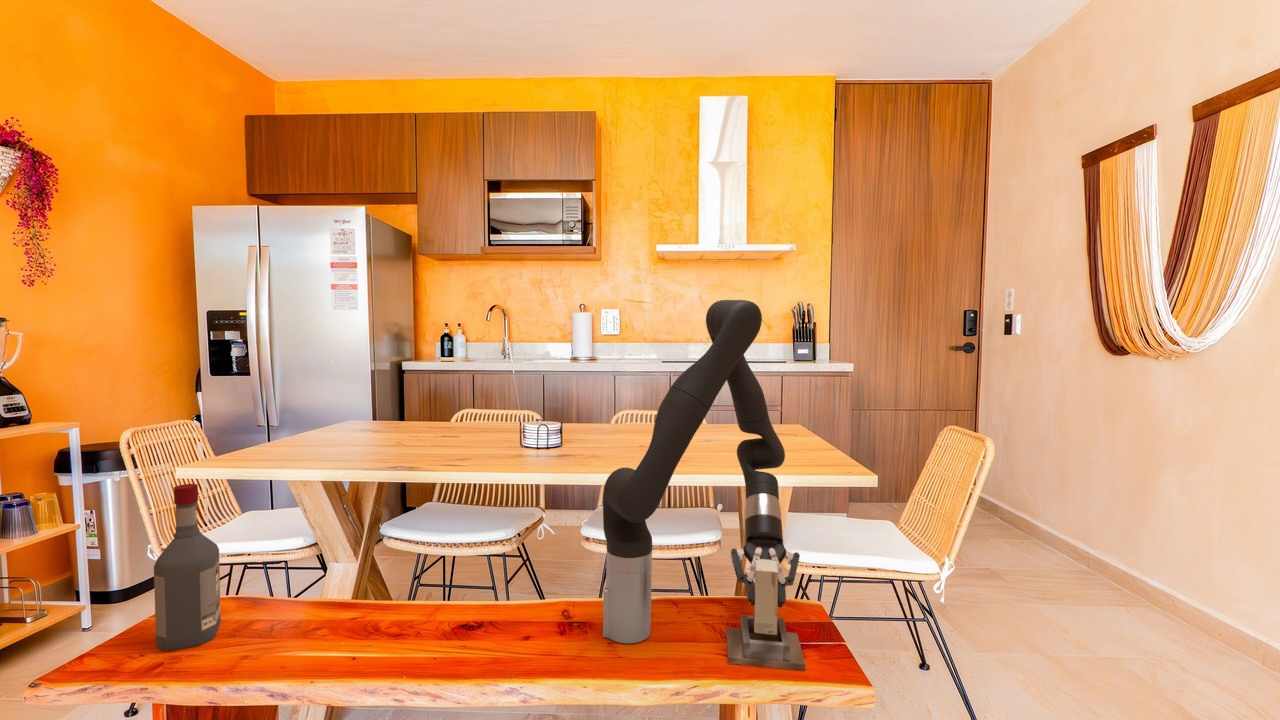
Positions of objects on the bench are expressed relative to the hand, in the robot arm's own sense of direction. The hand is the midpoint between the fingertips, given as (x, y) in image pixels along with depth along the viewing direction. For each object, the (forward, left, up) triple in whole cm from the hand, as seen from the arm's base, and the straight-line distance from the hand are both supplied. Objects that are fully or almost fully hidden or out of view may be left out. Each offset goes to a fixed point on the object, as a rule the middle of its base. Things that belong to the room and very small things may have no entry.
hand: (766, 604), depth 110 cm
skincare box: (0, +2, -5) cm, 6 cm away
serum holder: (0, +2, -10) cm, 10 cm away
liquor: (-111, -12, -10) cm, 112 cm away
